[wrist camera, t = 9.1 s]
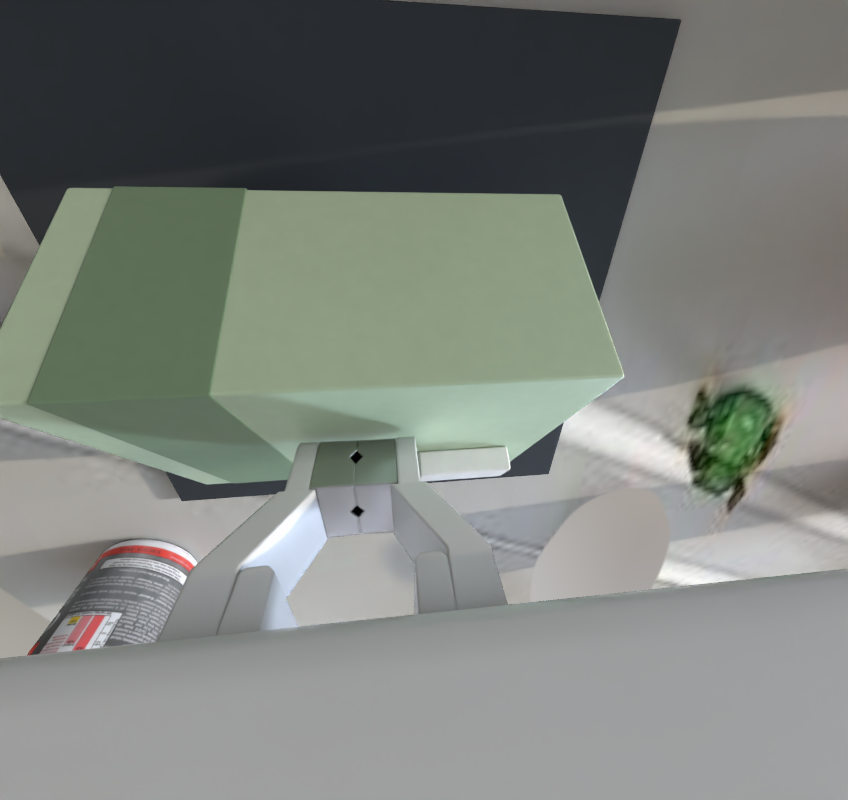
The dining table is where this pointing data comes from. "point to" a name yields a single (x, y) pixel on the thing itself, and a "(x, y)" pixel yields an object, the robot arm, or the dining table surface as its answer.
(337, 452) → the robot arm
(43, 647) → the pill bottle
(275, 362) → the green box
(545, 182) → the slate mat
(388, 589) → the dining table surface
